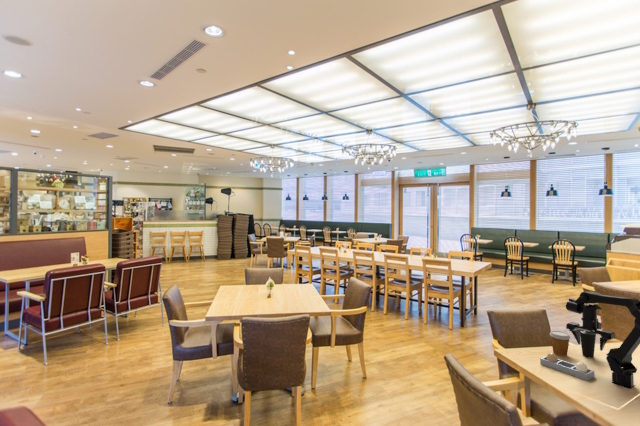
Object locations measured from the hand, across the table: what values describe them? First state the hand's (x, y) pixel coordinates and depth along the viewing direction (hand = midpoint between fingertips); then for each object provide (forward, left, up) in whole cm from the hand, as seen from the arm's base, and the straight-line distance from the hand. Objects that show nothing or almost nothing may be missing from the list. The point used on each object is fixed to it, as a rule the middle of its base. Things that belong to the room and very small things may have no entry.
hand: (590, 347), depth 165 cm
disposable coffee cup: (+18, -10, -12) cm, 24 cm away
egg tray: (+6, +11, -12) cm, 17 cm away
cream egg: (-1, +11, -11) cm, 16 cm away
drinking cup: (+9, -21, -12) cm, 26 cm away
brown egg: (+12, +11, -11) cm, 20 cm away
